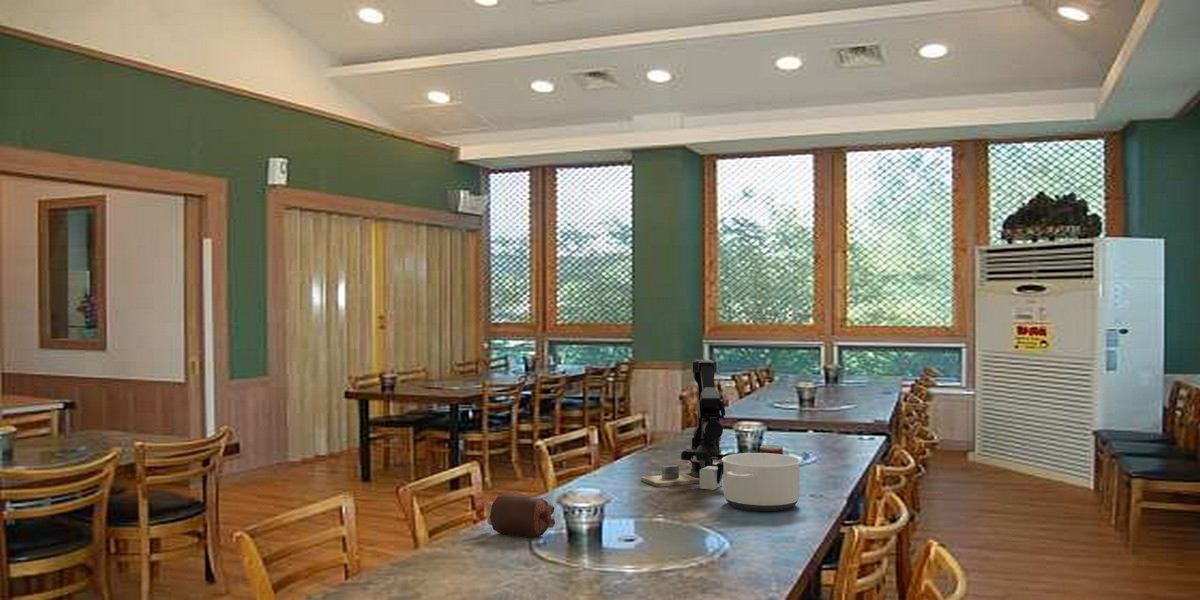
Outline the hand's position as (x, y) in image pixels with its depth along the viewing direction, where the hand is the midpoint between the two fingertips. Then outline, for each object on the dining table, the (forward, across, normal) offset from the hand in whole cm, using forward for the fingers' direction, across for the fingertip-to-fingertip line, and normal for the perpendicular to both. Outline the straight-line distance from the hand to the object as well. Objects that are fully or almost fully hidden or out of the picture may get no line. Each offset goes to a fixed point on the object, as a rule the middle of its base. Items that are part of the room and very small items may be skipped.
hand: (710, 483), depth 305 cm
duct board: (+1, -15, +2) cm, 15 cm away
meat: (+1, -22, -81) cm, 84 cm away
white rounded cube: (+1, 0, 0) cm, 1 cm away
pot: (+2, +23, -19) cm, 30 cm away
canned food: (+2, +14, +21) cm, 25 cm away
